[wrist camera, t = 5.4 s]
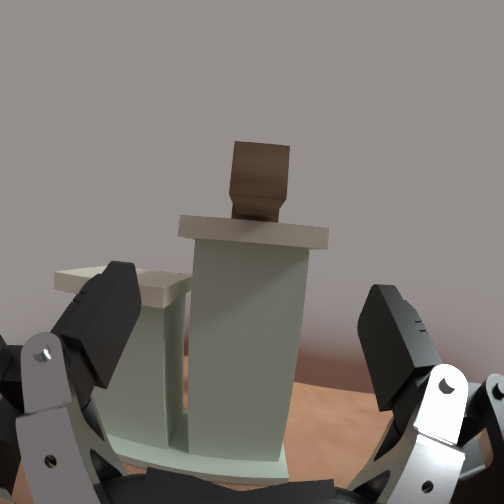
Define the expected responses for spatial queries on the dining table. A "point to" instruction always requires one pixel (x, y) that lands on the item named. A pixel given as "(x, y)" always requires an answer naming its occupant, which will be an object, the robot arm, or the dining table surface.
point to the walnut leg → (258, 180)
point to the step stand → (212, 353)
